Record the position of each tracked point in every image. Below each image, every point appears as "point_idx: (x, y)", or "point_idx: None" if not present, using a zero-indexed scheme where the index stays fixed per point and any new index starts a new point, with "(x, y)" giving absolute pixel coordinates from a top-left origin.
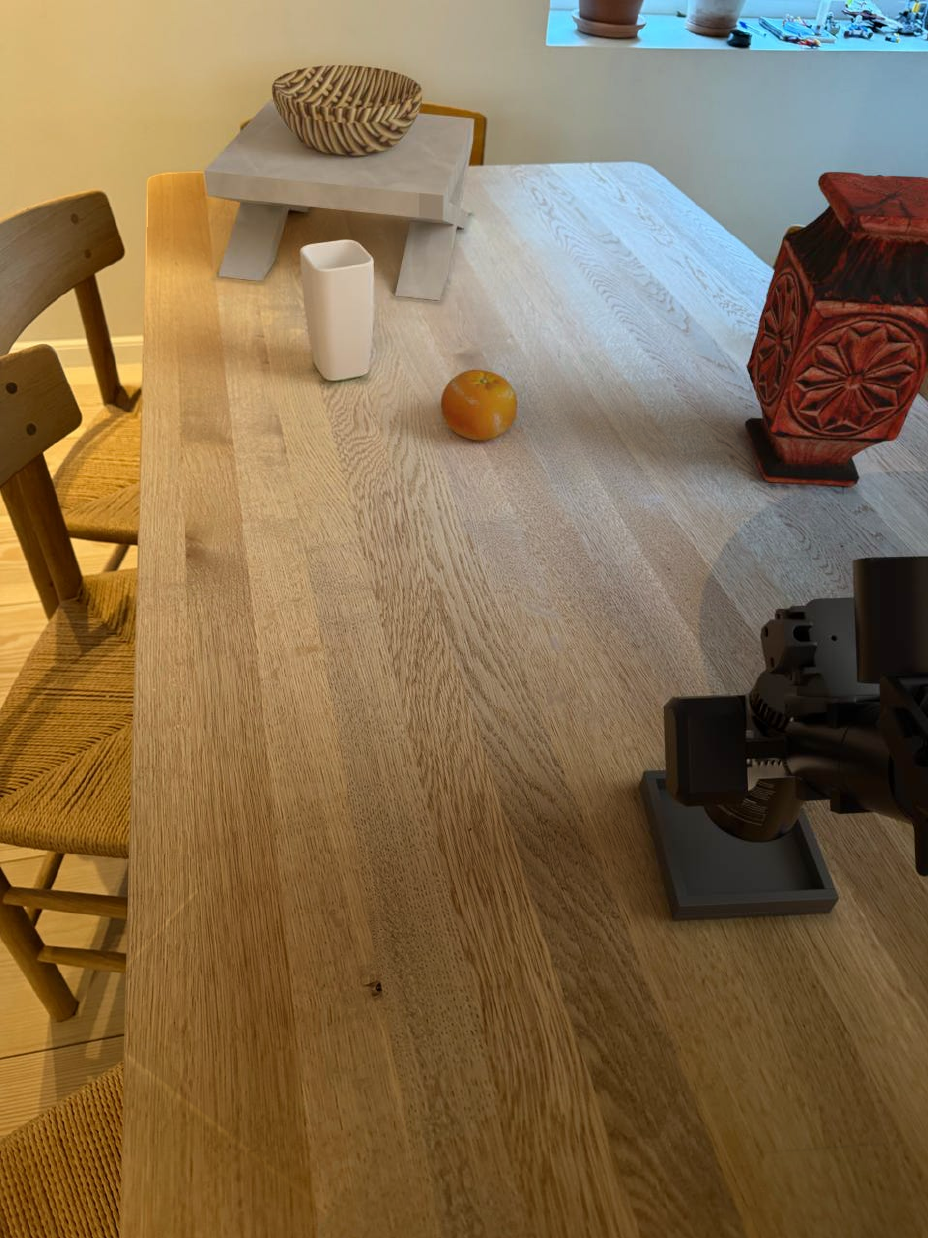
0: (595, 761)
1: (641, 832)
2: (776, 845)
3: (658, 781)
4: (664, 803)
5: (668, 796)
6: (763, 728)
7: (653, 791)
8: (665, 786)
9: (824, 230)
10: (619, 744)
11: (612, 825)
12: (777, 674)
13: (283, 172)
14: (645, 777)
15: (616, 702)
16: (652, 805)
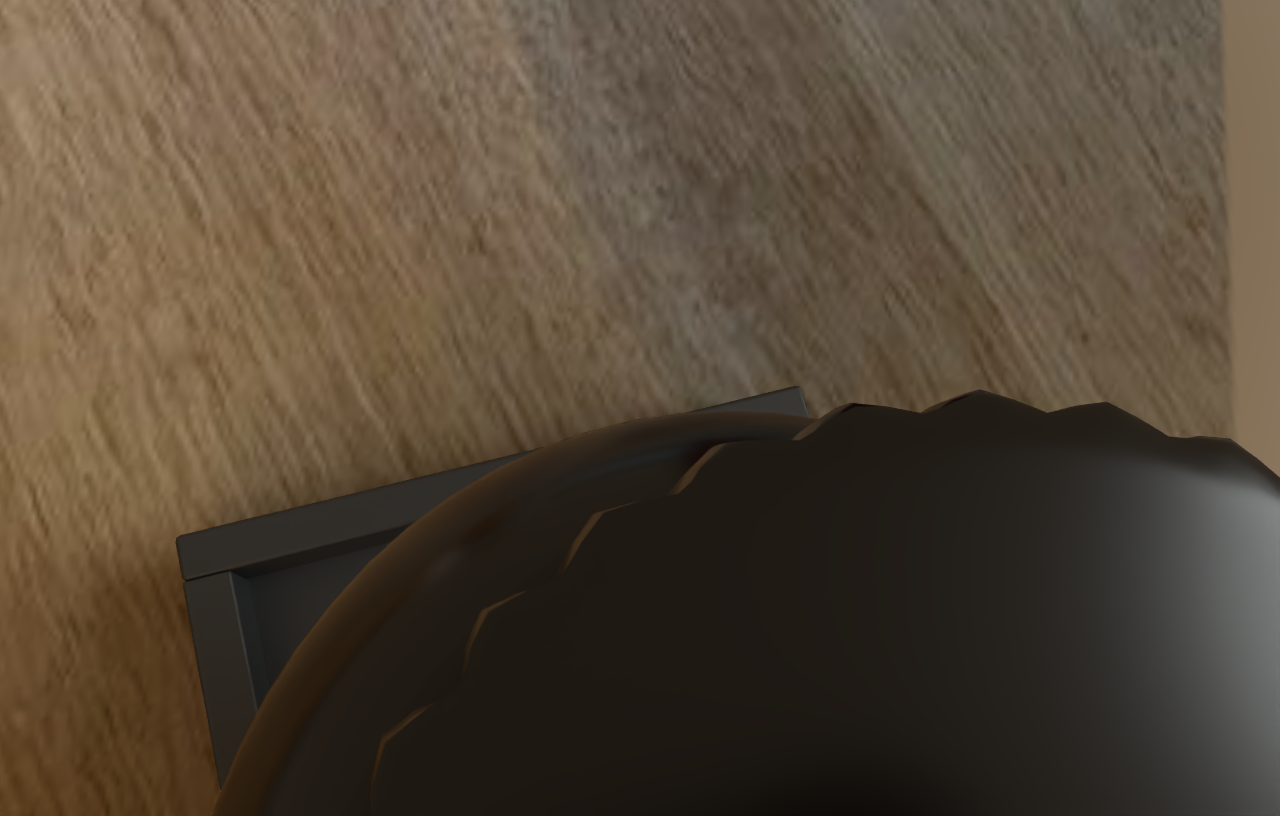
0: (14, 457)
1: (209, 788)
2: None
3: (254, 566)
4: (301, 639)
5: (320, 598)
6: None
7: (217, 645)
8: (301, 562)
9: None
10: (128, 350)
11: (77, 782)
12: (743, 730)
13: None
14: (182, 573)
15: (125, 141)
16: (209, 726)
